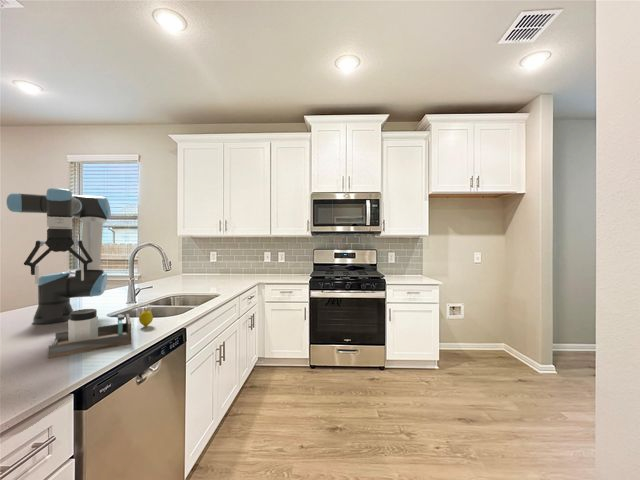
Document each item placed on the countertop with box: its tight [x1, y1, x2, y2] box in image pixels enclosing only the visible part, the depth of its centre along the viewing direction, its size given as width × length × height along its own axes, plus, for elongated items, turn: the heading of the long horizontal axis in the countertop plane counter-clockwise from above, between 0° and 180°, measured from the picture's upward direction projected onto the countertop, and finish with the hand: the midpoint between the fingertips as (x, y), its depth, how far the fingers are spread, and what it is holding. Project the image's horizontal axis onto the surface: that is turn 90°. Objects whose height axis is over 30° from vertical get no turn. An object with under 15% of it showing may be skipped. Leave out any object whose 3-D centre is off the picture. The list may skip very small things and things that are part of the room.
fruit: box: [138, 309, 154, 328], centre depth 136 cm, size 6×6×8 cm
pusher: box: [117, 314, 125, 335], centre depth 120 cm, size 15×2×8 cm, turn 36°
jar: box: [67, 308, 99, 343], centre depth 113 cm, size 9×8×12 cm
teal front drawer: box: [47, 313, 132, 359], centre depth 115 cm, size 18×24×8 cm
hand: (60, 281), depth 116 cm, fingers open, 13 cm apart
